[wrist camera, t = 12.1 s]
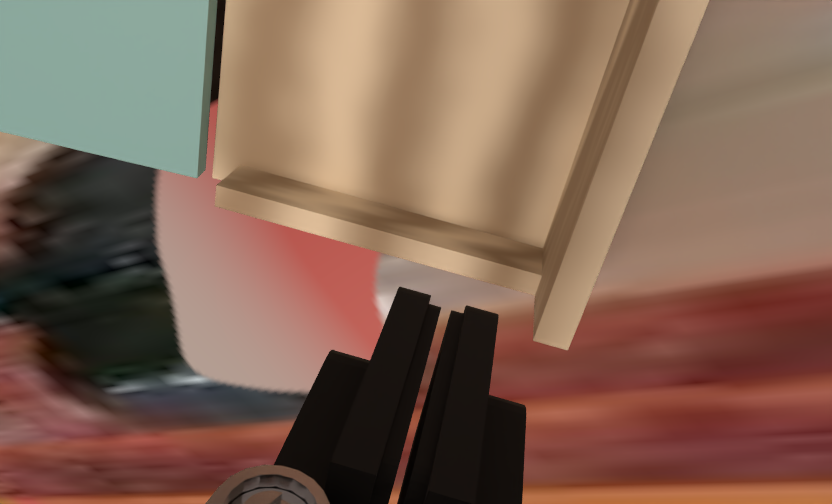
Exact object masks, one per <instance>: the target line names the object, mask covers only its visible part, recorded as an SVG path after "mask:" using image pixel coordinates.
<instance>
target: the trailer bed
mask: <svg viewBox="0 0 832 504" xmlns="http://www.w3.org/2000/svg"><path fill="white" fill-rule="evenodd" d="M708 3H709V0H226V7H225V20H224V33H223V46H222V59H221V72H220V85H219V98H218V111H217V124H216V137H215V150H214V163H213V175H212V177H213V178H215V179H219V180H222V181H221V182H220V183H219V184H217V185H216V198H215V206H216V207H219V208H223V209H227V210H230V211H234V212H237V213H241V214H244V215H248V216H252V217H255V218H259V219H263V220H266V221H270V222H274V223H277V224H280V225H284V226H287V227H291V228H295V229H298V230H302V231H305V232H309V233H312V234H316V235H320V236H323V237H327V238H331V239H334V240H338V241H341V242H345V243H348V244H352V245H356V246H359V247H363V248H366V249H370V250H373V251H377V252H381V253H384V254H388V255H391V256H395V257H398V258H402V259H406V260H409V261H413V262H416V263H420V264H424V265H427V266H431V267H434V268H438V269H441V270H445V271H449V272H452V273H456V274H459V275H463V276H467V277H470V278H474V279H477V280H481V281H484V282H488V283H492V284H495V285H499V286H502V287H506V288H510V289H513V290H517V291H520V292H524V293H527V294H531V295H535V305H534V330H533V341H536V342H540V343H543V344H547V345H550V346H554V347H557V348H561V349H564V350H568V348H569V346H570V344H571V341H572V339H573V336H574V334H575V331H576V329H577V326H578V324H579V321H580V319H581V316H582V314H583V311H584V309H585V306H586V304H587V302H588V299H589V297H590V294H591V292H592V289H593V287H594V284H595V282H596V279H597V277H598V274H599V272H600V269H601V267H602V265H603V262H604V260H605V257H606V255H607V252H608V250H609V247H610V245H611V242H612V240H613V237H614V235H615V232H616V230H617V227H618V225H619V223H620V220H621V218H622V215H623V213H624V210H625V208H626V205H627V203H628V200H629V198H630V195H631V193H632V190H633V188H634V185H635V183H636V181H637V178H638V176H639V173H640V171H641V168H642V166H643V163H644V161H645V158H646V156H647V153H648V151H649V148H650V146H651V143H652V141H653V139H654V136H655V134H656V131H657V129H658V126H659V124H660V121H661V119H662V116H663V114H664V111H665V109H666V106H667V104H668V102H669V99H670V97H671V94H672V92H673V89H674V87H675V84H676V82H677V79H678V77H679V74H680V72H681V69H682V67H683V64H684V62H685V60H686V57H687V55H688V52H689V50H690V47H691V45H692V42H693V40H694V37H695V35H696V32H697V30H698V27H699V25H700V22H701V20H702V18H703V15H704V13H705V10H706V8H707V5H708Z"/></svg>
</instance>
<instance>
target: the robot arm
mask: <svg viewBox="0 0 832 504" xmlns="http://www.w3.org/2000/svg"><path fill="white" fill-rule="evenodd" d="M430 297H431V295H428V294H424V293H420V292H417V291H413V290H410V289H406V288H403V287H399V288H398V291H397V293H396V296H395V298H394V301H393V303H392V306H391V309H390V311H389V314H388V316H387V319H386V321H385V324H384V326H383V329H382V332H381V334H380V337H379V339H378V342H377V344H376V347H375V349H374V352H373V355H372V357H371V360H370V361H369V360H366V359H362V358H359V357H355V356H352V355H348V354H345V353H341V352H338V351H335V350H331V351H330V352H329V354H328V356H327V357H326V359H325V361H324V363H323V366H322V367H321V369H320V372H319V374H318V376H317V378H316V380H315V382H314V384H313V386H312V388H311V390H310V392H309V394H308V396H307V398H306V400H305V402H304V404H303V406H302V408H301V410H300V412H299V414H298V416H297V419H296V421H295V423H294V425H293V427H292V429H291V431H290V433H289V435H288V437H287V439H286V441H285V443H284V445H283V447H282V449H281V451H280V453H279V455H278V457H277V459H276V461H275V464H274V465H261V466H256V467H251V468H247V469H244V470H242V471H240V472H238V473H236V474H234V475H232V476H230V477H229V478H228V479H227V480H226V481H225V482H224V483H223V484H222V485H221V486H220V487H218V489H217V490H216V491H215V492H214V494H213V495H212V496H211V497H210V499H209V500H208V501H207V502H206V504H388V502H389V499H390V495H391V492H392V488H393V485H394V481H395V477H396V474H397V470H398V466H399V463H400V459H401V455H402V451H403V448H404V444H405V440H406V437H407V433H408V429H409V425H410V422H411V418H412V414H413V411H414V407H415V403H416V399H417V396H418V392H419V388H420V384H421V381H422V377H423V373H424V370H425V366H426V362H427V358H428V355H429V351H430V347H431V344H432V340H433V336H434V332H435V329H436V325H437V321H438V317H439V314H440V310H441V307H438V306H434V305H431V304H429V301H430ZM497 325H498V314H495V313H491V312H488V311H484V310H481V309H477V308H474V307H470V306H467V305H466V307H465V310H464V313H459V312H456V311H452V310H451V313H450V317H449V320H448V323H447V327H446V330H445V334H444V337H443V341H442V344H441V347H440V351H439V354H438V358H437V361H436V365H435V368H434V371H433V375H432V378H431V382H430V385H429V389H428V392H427V395H426V399H425V402H424V406H423V409H422V413H421V416H420V420H419V423H418V426H417V430H416V433H415V437H414V441H413V444H412V448H411V452H410V456H409V460H408V464H407V468H406V472H405V475H404V479H403V483H402V487H401V491H400V495H399V499H398V503H397V504H522V492H523V471H524V451H525V430H526V407H525V405H522V404H519V403H515V402H512V401H508V400H505V399H501V398H498V397H494V396H491V395H489V388H490V381H491V373H492V365H493V357H494V349H495V341H496V333H497Z"/></svg>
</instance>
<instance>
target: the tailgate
mask: <svg viewBox="0 0 832 504" xmlns="http://www.w3.org/2000/svg"><path fill="white" fill-rule="evenodd" d="M216 14H217V0H0V132H5V133H9V134H13V135H17V136H21V137H26V138H30V139H34V140H38V141H43V142H47V143H51V144H55V145H59V146H64V147H68V148H72V149H76V150H80V151H85V152H89V153H93V154H97V155H101V156H106V157H110V158H114V159H118V160H122V161H127V162H131V163H135V164H139V165H144V166H148V167H152V168H156V169H160V170H165V171H169V172H173V173H177V174H181V175H186V176H190V177H194V178H198V177H199V176H200V175H201V174H202V173H203V172H204V171H205V168H206V154H207V140H208V126H209V112H210V98H211V84H212V70H213V56H214V42H215V28H216Z"/></svg>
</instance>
